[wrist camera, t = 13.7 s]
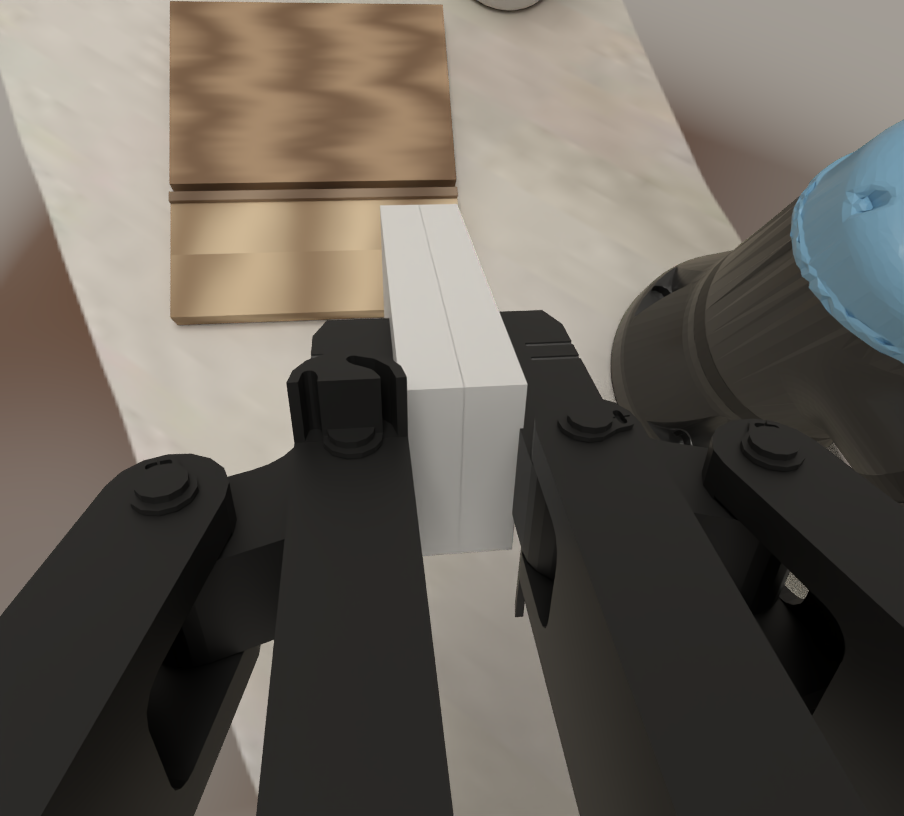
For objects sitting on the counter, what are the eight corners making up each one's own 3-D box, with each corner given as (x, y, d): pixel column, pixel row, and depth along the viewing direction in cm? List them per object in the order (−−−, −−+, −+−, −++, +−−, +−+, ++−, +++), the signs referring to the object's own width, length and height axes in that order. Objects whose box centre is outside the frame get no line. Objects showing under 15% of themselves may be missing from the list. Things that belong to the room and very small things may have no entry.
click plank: (453, 190, 47) (440, 20, 49) (456, 179, 45) (442, 4, 48) (176, 195, 45) (176, 18, 47) (169, 183, 43) (169, 1, 46)
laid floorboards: (454, 200, 47) (457, 186, 45) (462, 314, 46) (466, 304, 44) (177, 205, 45) (168, 191, 43) (177, 324, 44) (168, 315, 42)
